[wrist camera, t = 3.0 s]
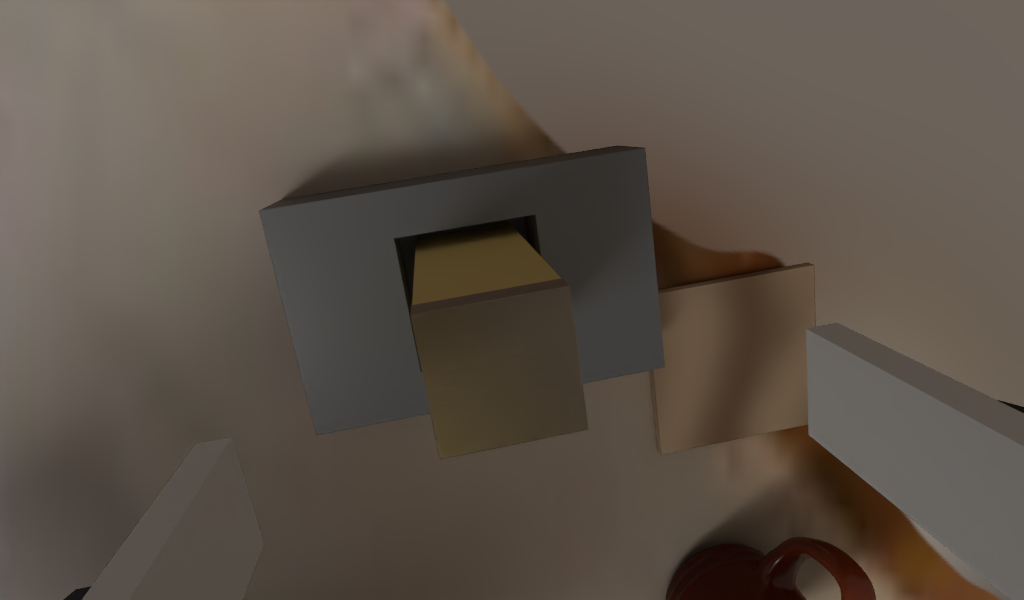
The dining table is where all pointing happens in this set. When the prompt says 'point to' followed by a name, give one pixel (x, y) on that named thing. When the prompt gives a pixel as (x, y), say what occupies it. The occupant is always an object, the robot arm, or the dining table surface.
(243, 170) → the dining table surface
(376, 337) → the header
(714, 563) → the mug
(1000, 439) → the robot arm
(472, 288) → the plug
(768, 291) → the pad
